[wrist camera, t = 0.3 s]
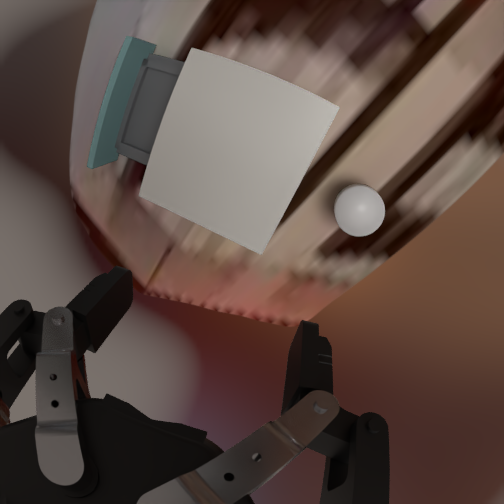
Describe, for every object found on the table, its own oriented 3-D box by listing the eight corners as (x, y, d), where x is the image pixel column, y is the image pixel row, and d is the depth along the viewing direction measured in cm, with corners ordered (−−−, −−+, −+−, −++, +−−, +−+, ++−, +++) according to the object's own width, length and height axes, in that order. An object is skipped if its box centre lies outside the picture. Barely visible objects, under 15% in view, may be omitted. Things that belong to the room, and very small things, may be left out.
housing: (214, 59, 30) (191, 47, 23) (331, 109, 31) (339, 107, 24) (167, 179, 39) (138, 195, 32) (269, 227, 39) (261, 255, 32)
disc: (349, 174, 31) (351, 177, 30) (390, 199, 31) (394, 203, 30) (324, 216, 34) (325, 221, 32) (365, 239, 34) (367, 244, 33)
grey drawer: (150, 43, 29) (126, 36, 23) (256, 75, 29) (247, 67, 24) (112, 157, 37) (86, 166, 32) (202, 198, 38) (186, 213, 32)
